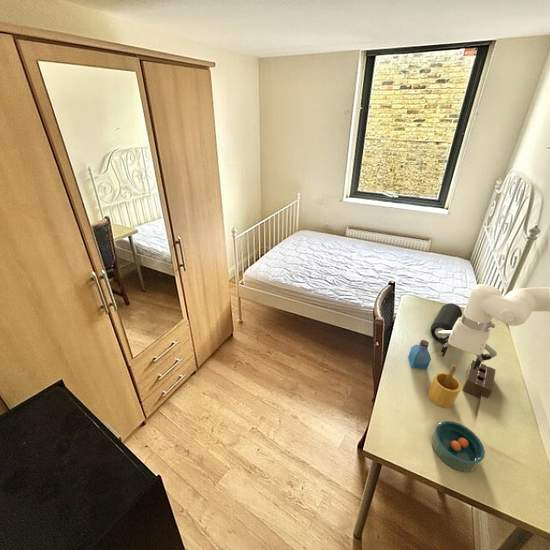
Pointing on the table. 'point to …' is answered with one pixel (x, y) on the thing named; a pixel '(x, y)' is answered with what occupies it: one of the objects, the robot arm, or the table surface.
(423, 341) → the perfume bottle
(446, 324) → the portable speaker
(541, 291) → the robot arm
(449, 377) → the stirring stick
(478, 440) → the bowl
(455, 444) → the dough ball
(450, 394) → the utensil pot
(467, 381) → the holder
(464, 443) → the dough ball
